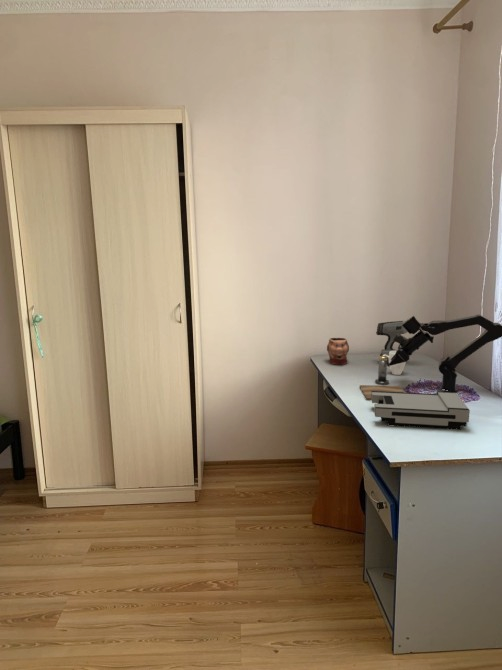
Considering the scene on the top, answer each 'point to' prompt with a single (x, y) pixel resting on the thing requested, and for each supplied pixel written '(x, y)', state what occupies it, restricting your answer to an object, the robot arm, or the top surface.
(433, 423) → the retro console
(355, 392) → the top surface
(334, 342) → the decorative planter
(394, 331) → the cordless drill
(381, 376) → the grey cylinder with base
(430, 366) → the top surface
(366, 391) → the board
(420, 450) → the top surface
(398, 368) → the mug
